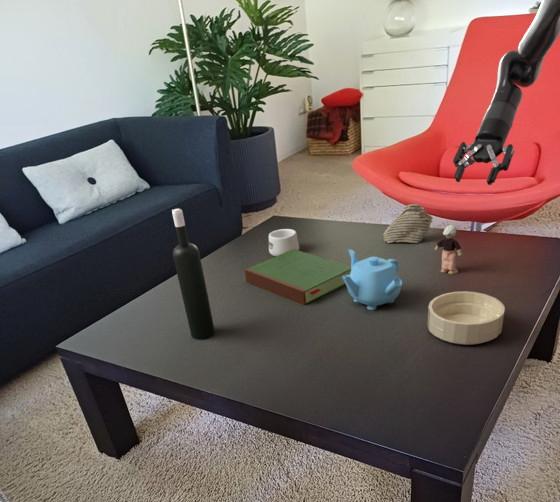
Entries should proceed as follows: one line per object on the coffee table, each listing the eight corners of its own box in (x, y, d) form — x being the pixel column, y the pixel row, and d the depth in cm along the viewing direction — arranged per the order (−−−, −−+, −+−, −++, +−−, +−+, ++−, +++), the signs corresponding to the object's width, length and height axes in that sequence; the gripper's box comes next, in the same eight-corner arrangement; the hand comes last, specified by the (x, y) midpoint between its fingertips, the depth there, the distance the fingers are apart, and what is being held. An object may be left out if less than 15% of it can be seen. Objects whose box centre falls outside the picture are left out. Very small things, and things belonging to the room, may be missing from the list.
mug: (304, 252, 164) (303, 233, 161) (277, 260, 161) (274, 241, 158) (287, 242, 173) (286, 224, 170) (261, 249, 170) (259, 231, 167)
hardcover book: (246, 282, 149) (244, 269, 147) (294, 260, 159) (293, 249, 157) (306, 306, 133) (305, 292, 131) (356, 280, 142) (355, 267, 140)
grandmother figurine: (463, 270, 141) (468, 224, 134) (459, 275, 138) (463, 229, 131) (435, 266, 145) (438, 221, 138) (430, 272, 142) (433, 226, 135)
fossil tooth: (384, 241, 168) (433, 236, 164) (383, 247, 163) (433, 242, 159) (381, 205, 162) (431, 198, 158) (380, 210, 157) (432, 204, 153)
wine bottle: (217, 327, 128) (194, 204, 111) (210, 339, 123) (184, 213, 107) (195, 327, 129) (169, 206, 113) (187, 339, 125) (158, 214, 108)
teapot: (337, 311, 129) (335, 268, 122) (349, 287, 139) (348, 247, 133) (399, 315, 124) (401, 271, 117) (407, 290, 134) (409, 248, 128)
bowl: (512, 323, 116) (516, 300, 112) (483, 354, 106) (486, 331, 103) (446, 307, 125) (448, 286, 122) (414, 335, 115) (415, 313, 112)
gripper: (466, 116, 138) (443, 171, 138) (521, 116, 130) (497, 176, 130) (472, 133, 145) (450, 187, 144) (525, 135, 136) (502, 192, 136)
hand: (472, 181), depth 137 cm, fingers open, 8 cm apart
